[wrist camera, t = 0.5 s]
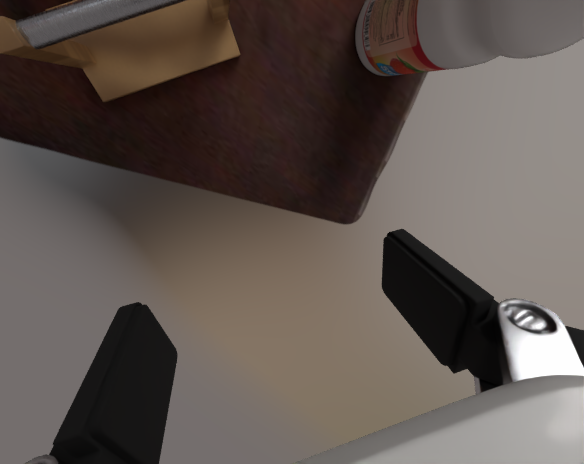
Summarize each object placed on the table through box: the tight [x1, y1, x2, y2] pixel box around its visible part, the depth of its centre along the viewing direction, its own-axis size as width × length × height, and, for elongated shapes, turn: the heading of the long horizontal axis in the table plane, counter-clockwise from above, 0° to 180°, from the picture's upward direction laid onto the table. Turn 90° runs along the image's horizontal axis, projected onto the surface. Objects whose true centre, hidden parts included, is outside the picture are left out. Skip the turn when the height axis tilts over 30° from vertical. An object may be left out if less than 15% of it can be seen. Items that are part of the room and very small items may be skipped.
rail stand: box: [0, 0, 240, 102], centre depth 21 cm, size 8×16×12 cm, turn 107°
